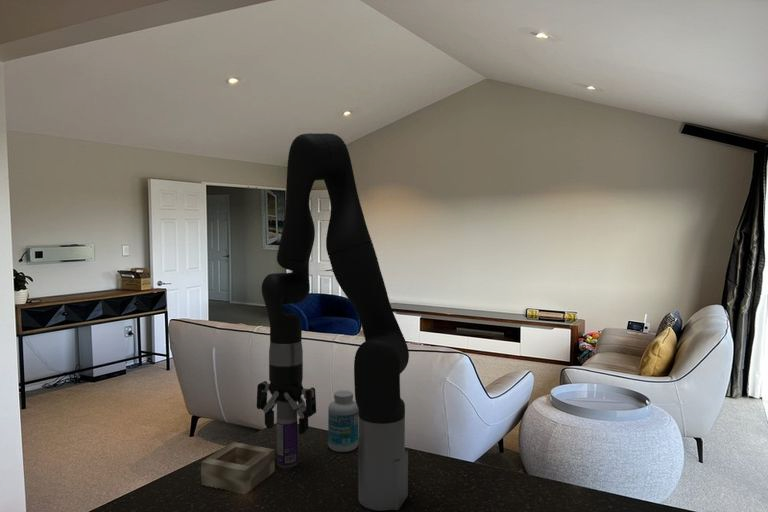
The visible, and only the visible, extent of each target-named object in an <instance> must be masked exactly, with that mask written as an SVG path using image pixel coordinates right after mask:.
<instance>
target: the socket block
mask: <svg viewBox="0 0 768 512" xmlns="http://www.w3.org/2000/svg"><path fill="white" fill-rule="evenodd" d="M275 451H276V450H275V449H274V448H268V447H262V446H257V445H251V444H247V443H243V442H241V443H240V442H236V441H232V442H231V443H229V444H227V445H226V446H225V447H223V448H221V449H220V450H218V451H216V452H214V453H213V454H212V455H210V456H208V457H207V458H205V459H203V460H201V461H200V475H201V476H200V480H201V481H200V482H201V483H200V484H201V486H204V485H205V487H209V486H210V487H211V488H213V487H214V488H213V489H218V488H220V489H219V490H222V489H225V490H224V491H227V490H228V492H231V491H232V492H233V493H236V492H237V493H236V494H240V493H241V494H240V495H247V494H248V493H249V492H250V491H252V490H253V489H254V488H256V487H257V486H258V485H260V484H261V483H262V482H263V481H265V480H266V479H267V478H269V477H270V476H271V475H272V474H273V473H275V471H276V468H275V467H276V463H275V460H276V459H275V458H276V457H275V454H276V453H275ZM265 478H266V479H265ZM260 482H261V483H260ZM210 487H209V488H210ZM232 492H231V493H232Z"/></svg>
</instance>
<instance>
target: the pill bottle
mask: <svg viewBox="0 0 768 512" xmlns="http://www.w3.org/2000/svg"><path fill="white" fill-rule="evenodd" d="M333 399H334V400H332V401H330V403H329V405H328V409H327V410H328V411H327V412H328V415H327V416H328V418H327V420H328V426H327V427H328V429H327V431H328V432H327V436H328V437H327V441H328V442H327V446H328V447H329V449H330V450H332V451H333V452H337V453H347V452H351V451H354V450H356V448H358V447H359V411H358V406H357V404H356V400H354V393H353V391H350V390H337V391H335V392H334V393H333Z"/></svg>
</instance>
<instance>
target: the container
mask: <svg viewBox="0 0 768 512" xmlns="http://www.w3.org/2000/svg"><path fill="white" fill-rule="evenodd" d="M296 403H297V404H298V401H297V402H296ZM298 434H299V428H298V414H297V412H296V411H294V410H293V408H292V406H291V405H290V403H289V402H286V401H279V400H277V404H276V465H277V467H279V468H283V469H290V468H293V467H296V466H297V465H298V462H299V457H298V451H299V450H298V449H299V448H298V445H299V444H298V441H299V439H298V436H299V435H298Z"/></svg>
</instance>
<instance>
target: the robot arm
mask: <svg viewBox="0 0 768 512" xmlns="http://www.w3.org/2000/svg"><path fill="white" fill-rule="evenodd" d="M286 166H287V168H286V185H285V186H286V187H285V188H286V189H285V207H284V208H285V209H284V211H285V213H284V219H283V220H284V221H283V226H282V232H281V236H280V241H279V245H278V249H277V254H276V262H277V264H278V265H279V266H280V267H281V268H283V269H285V270H288V271H291V272H276V273H269V274H268V275H266V276H265V277H264V279H263V281H262V283H261V294H262V295H261V296H262V298H263V301H264V302H263V303H264V304H265V307H266V309H265V310H266V312H267V316H268V320H269V341H270V342H269V349H268V381H269V383H268V381H267V380H264V381H262V382H260V383H258V384H257V389H256V408H257V409H258V410H261V411H263V413H264V425H265V426H266V429H268V430H271V429H272V428H274V426H275V410H274V408H275V407H276V406H277V400H279V401H286V402H289V403H290V405H291V406H292V408H293V410H294V411H296V412H297V416H298V417H299V418H298V434H299V435H303V434H305V433H306V432H307V431H308V429H309V418H310V417H312V416H313V415H315V414H316V413H317V401H316V399H317V398H316V397H317V396H316V388H315V387H310V388H304V386H303V375H304V373H303V369H304V368H303V367H304V366H303V365H304V364H303V363H304V362H303V361H304V360H303V359H304V357H303V353H304V351H303V343H302V333H303V332H302V330H303V329H302V326H303V325H302V319H301V316H299V315H297V314H295V313H290V312H289V313H288V312H285V311H284V308H283V305H292V304H300V303H302V302H304V301H305V300H306V299H307V298H308V296H309V294H310V290H311V286H310V259H311V255H312V252H313V251H312V250H313V247H314V244H315V243H314V242H315V237H316V229H315V223H314V220H313V216H312V213H311V209H310V208H311V207H310V195H311V192H312V189H313V185H314V183H315V181H323V182H324V184H325V186H326V189H327V193H328V197H329V201H330V203H329V204H330V214H329V215H330V216H329V222H328V225H327V226H328V227H327V231H326V238H325V239H326V240H325V247H326V252H327V256H328V259H329V263H330V265H331V269H332V272H333V275H334V278H335V280H336V282H337V283H338V286H339V287H340V289H341V290H342V292H343V293H344V295H345V296H346V297H347V300H349V301H350V303H351V305H352V306H353V308H354V309H355V312H356V314H357V316H358V319H359V321H360V322H359V323H360V326H361V328H362V333H363V336H364V341H363V342H362V343H361V344H360V345H359V346H358V347H357V350H356V351H355V355H354V361H353V378H354V383H353V384H354V399H355V400H354V401H355V402H356V404H357V406H358V411H359V420H358V463H357V464H358V469H357V470H358V473H357V474H358V489H357V490H358V502H359V504H360V505H361V506H362V507H364V508H366V509H368V510H372V511H379V512H381V511H383V512H386V511H392V510H393V511H399V510H400V508H401V507H402V505H403V504H404V503H405V501H406V499H407V498H408V496H409V494H408V492H409V489H408V488H409V485H408V484H409V483H408V482H409V451H408V450H406V448H405V447H406V444H405V442H406V441H405V440H406V436H405V434H406V433H405V432H406V425H405V424H406V403H405V401H404V400H403V398H401V374H402V373H403V371H405V370H406V368H407V366H408V364H409V361H410V360H409V359H410V352H409V347H408V344H407V341H406V339H405V337H404V334H403V332H402V329H401V327H400V325H399V323H398V320H397V317H396V315H395V313H394V311H393V308H392V306H391V303H390V298H389V296H388V292H387V289H386V288H387V287H386V284H385V280H384V277H383V274H382V271H381V267H380V264H379V260H378V259H379V258H378V257H377V253H376V250H375V246H374V244H373V241H372V238H371V235H370V232H369V229H368V226H367V222H366V220H365V215H364V213H363V209H362V206H361V205H362V204H361V201H360V198H359V193H358V190H357V185H356V180H355V174H354V169H353V164H352V160H351V156H350V152H349V150H348V147H347V145H346V143H345V141H344V140H343V139H342V138H341V137H340V136H339V135H337V134H336V133H335V134H334V133H326V132H325V133H308V132H307V133H302V134H299V135H297V136H296V137H295V138H294V139H293V141H292V142H291V144H290V147H289V151H288V158H287V165H286ZM268 392H269V393H270V395H271V397H270V398H269V400H268ZM302 395H303V397H302ZM304 399H305V400H304ZM296 402H297V403H296Z"/></svg>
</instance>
